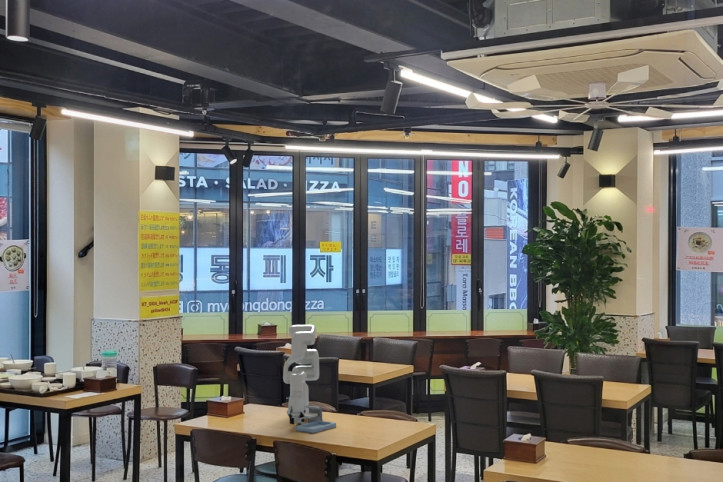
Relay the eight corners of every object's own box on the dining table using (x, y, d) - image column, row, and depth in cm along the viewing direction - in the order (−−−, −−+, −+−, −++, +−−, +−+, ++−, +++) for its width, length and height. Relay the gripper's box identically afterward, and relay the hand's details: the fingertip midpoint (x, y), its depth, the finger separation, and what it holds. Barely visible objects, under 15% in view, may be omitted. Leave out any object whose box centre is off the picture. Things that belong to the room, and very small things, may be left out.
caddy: (310, 422, 498) (310, 412, 498) (318, 423, 494) (317, 413, 494) (292, 426, 485) (292, 416, 485) (300, 428, 481) (300, 418, 481)
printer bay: (310, 421, 500) (310, 404, 501) (322, 422, 495) (322, 406, 495) (297, 424, 491) (297, 408, 491) (309, 426, 485) (309, 409, 485)
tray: (319, 424, 490) (319, 420, 490) (336, 427, 482) (336, 422, 482) (295, 430, 473) (295, 426, 473) (313, 433, 465) (313, 429, 465)
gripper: (301, 391, 493) (301, 419, 492) (282, 395, 479) (282, 424, 478) (310, 392, 488) (311, 421, 488) (291, 396, 474) (291, 426, 474)
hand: (296, 422), depth 483 cm, fingers open, 8 cm apart
